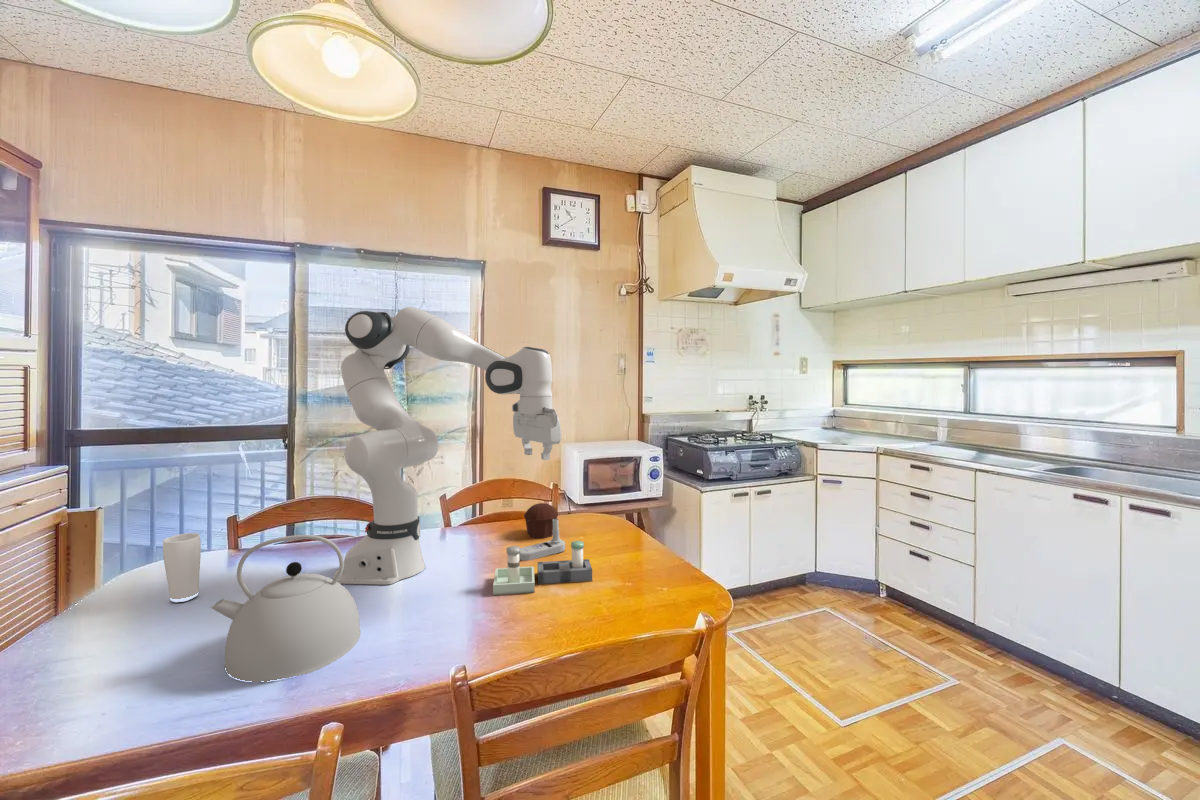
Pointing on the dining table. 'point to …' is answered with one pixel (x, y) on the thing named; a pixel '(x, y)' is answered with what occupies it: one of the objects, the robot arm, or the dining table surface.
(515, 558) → the cylinder
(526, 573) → the parts tray
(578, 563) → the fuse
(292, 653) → the kettle
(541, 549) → the electronic device
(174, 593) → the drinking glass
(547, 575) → the socket block
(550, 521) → the muffin
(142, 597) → the dining table surface
